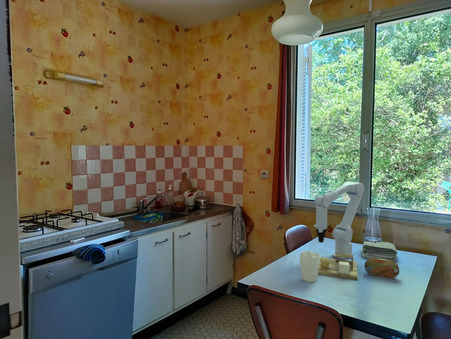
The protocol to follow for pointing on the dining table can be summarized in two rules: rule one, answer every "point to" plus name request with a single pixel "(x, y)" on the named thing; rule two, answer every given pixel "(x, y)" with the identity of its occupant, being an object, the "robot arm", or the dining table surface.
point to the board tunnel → (336, 263)
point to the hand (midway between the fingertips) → (321, 242)
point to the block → (343, 267)
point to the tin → (381, 268)
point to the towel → (379, 250)
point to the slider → (326, 265)
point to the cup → (309, 265)
